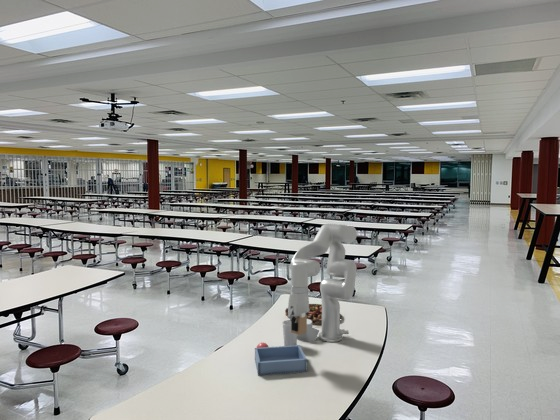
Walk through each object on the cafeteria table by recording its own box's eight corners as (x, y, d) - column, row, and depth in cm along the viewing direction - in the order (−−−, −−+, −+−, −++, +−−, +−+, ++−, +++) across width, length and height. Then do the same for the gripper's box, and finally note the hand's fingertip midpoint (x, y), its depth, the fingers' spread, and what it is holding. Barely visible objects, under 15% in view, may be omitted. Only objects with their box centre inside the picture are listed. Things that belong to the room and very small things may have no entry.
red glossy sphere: (268, 352, 189) (268, 340, 188) (269, 357, 183) (269, 345, 182) (255, 353, 188) (255, 340, 187) (257, 358, 182) (257, 346, 182)
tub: (299, 356, 184) (299, 345, 184) (306, 371, 169) (306, 359, 169) (254, 359, 181) (254, 348, 181) (258, 375, 166) (258, 363, 166)
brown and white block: (306, 332, 177) (306, 312, 176) (299, 335, 173) (300, 314, 173) (297, 329, 180) (298, 309, 180) (291, 332, 176) (291, 312, 176)
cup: (296, 349, 191) (297, 326, 191) (281, 348, 193) (281, 324, 192) (299, 343, 199) (299, 320, 198) (284, 342, 201) (284, 319, 200)
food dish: (278, 325, 228) (278, 311, 228) (293, 308, 260) (292, 297, 260) (338, 329, 218) (338, 316, 218) (345, 312, 250) (345, 300, 249)
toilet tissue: (318, 341, 201) (318, 325, 201) (293, 339, 204) (293, 323, 203) (319, 335, 210) (320, 319, 210) (295, 333, 213) (295, 318, 212)
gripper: (304, 284, 184) (303, 322, 185) (280, 291, 172) (280, 332, 173) (317, 287, 179) (316, 326, 180) (293, 294, 167) (293, 336, 168)
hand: (298, 328), depth 176 cm, fingers closed on brown and white block, 5 cm apart
